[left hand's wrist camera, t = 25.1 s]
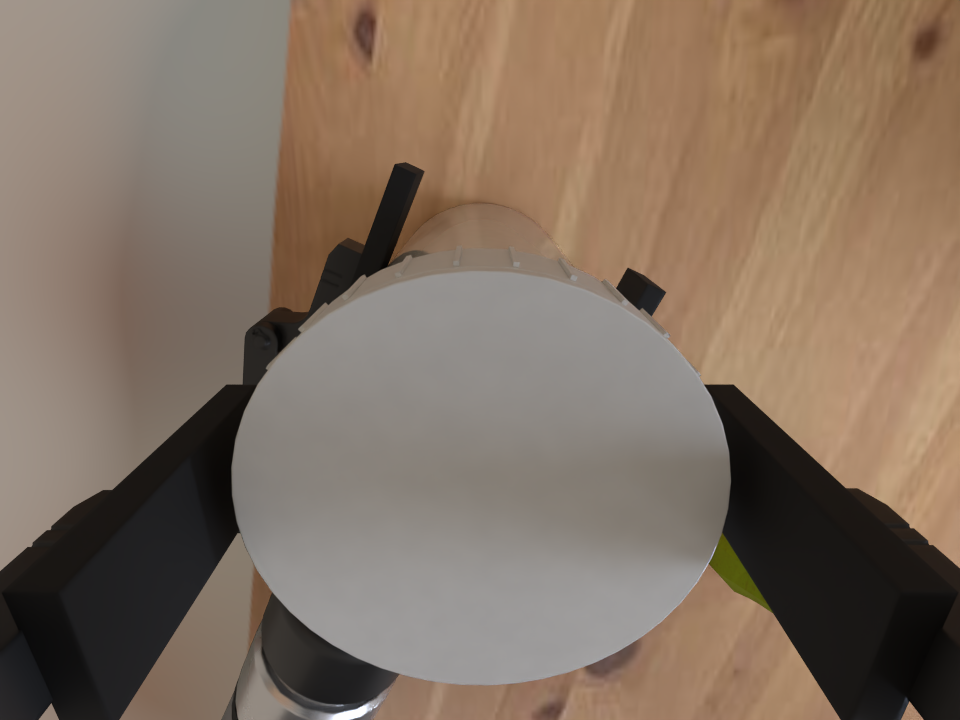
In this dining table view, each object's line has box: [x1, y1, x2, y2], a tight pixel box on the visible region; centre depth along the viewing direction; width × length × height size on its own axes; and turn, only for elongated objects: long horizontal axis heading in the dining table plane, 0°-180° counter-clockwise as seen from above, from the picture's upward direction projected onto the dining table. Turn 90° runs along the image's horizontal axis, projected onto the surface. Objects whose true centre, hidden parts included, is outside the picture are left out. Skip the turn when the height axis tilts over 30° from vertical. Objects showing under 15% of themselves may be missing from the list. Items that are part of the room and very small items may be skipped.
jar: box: [388, 203, 574, 267], centre depth 19 cm, size 9×9×16 cm
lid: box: [231, 245, 731, 685], centre depth 11 cm, size 10×10×2 cm
